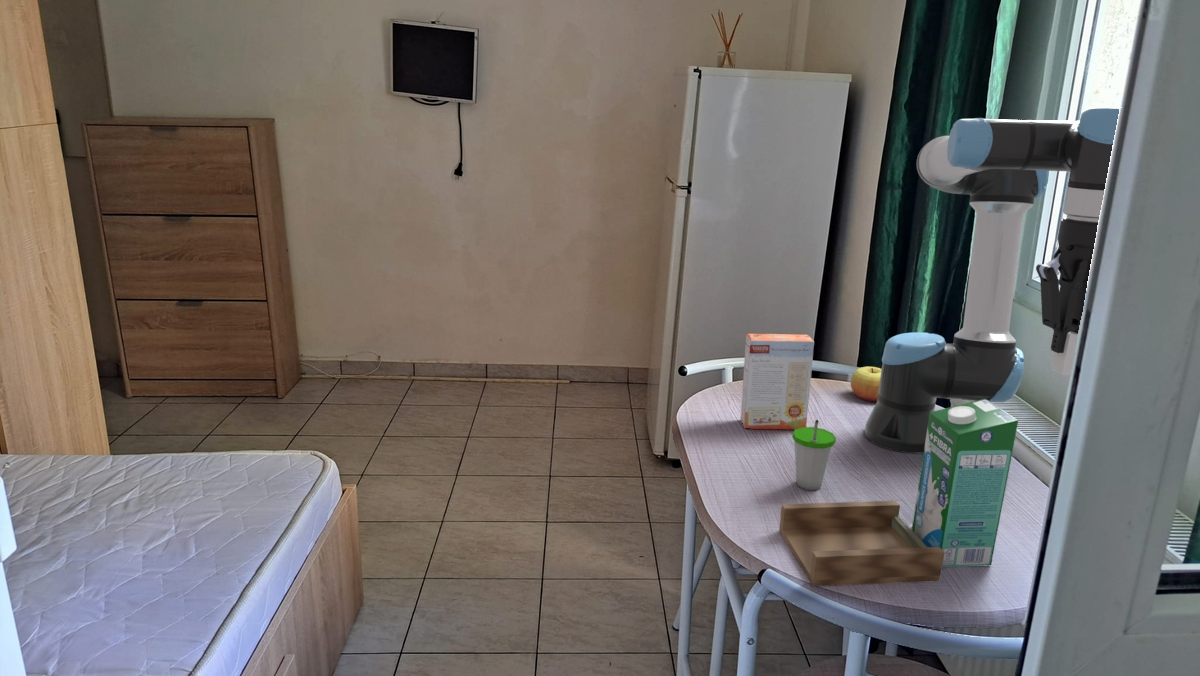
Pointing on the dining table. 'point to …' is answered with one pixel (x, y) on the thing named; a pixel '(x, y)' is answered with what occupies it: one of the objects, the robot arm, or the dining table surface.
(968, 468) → the milk carton
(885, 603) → the dining table surface
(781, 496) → the dining table surface
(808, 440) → the cup
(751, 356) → the cracker box
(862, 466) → the dining table surface
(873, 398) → the apple
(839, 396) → the dining table surface
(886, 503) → the tray
